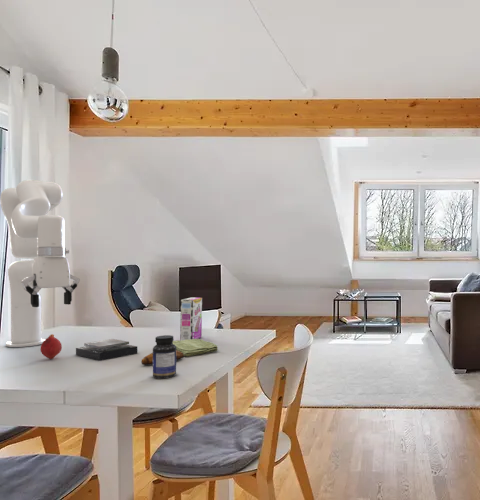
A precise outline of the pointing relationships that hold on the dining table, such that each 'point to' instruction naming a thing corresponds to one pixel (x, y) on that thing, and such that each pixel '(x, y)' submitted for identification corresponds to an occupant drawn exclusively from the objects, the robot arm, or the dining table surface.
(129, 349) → the scale
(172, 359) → the pill bottle
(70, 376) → the dining table surface
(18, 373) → the dining table surface
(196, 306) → the candy bar box
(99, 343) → the scale pan
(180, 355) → the croissant
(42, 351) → the onion
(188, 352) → the washcloth
